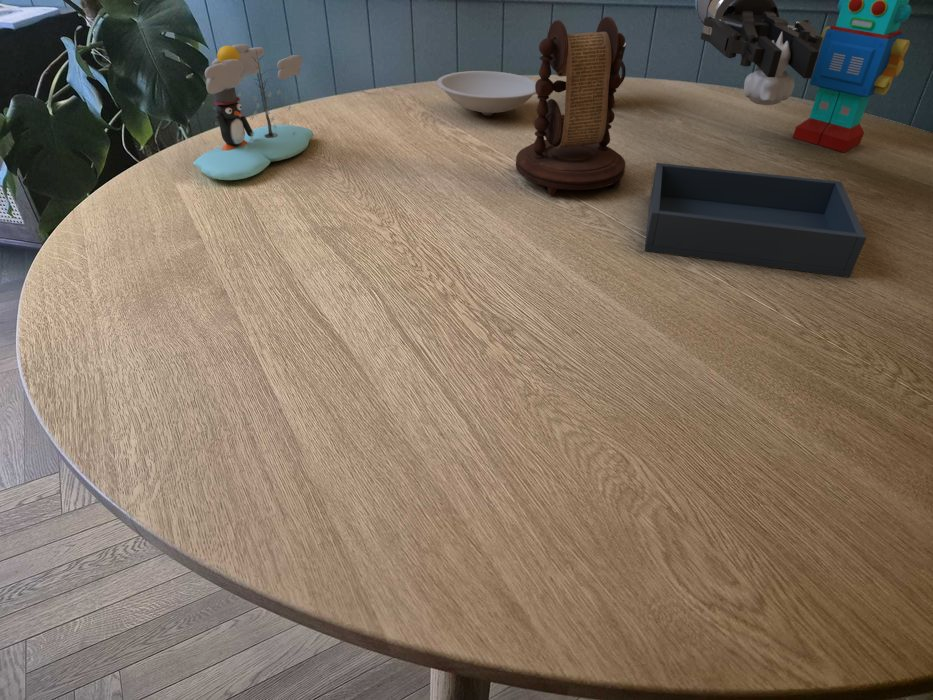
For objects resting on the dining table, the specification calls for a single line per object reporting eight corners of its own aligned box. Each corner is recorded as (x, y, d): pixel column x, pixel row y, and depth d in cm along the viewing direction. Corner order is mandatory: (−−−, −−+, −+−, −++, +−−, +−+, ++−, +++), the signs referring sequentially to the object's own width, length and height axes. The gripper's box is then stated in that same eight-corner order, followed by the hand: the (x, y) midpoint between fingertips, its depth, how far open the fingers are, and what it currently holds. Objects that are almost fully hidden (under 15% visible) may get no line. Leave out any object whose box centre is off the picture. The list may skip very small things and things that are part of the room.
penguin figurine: (237, 191, 87) (210, 71, 78) (179, 175, 91) (147, 59, 82) (330, 143, 101) (317, 36, 92) (277, 131, 105) (259, 27, 96)
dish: (422, 119, 110) (420, 88, 107) (458, 95, 120) (458, 66, 117) (521, 135, 104) (522, 102, 101) (550, 108, 114) (552, 78, 111)
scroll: (540, 207, 84) (554, 37, 72) (499, 163, 95) (505, 10, 83) (642, 192, 87) (672, 28, 75) (592, 152, 99) (610, 3, 86)
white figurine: (785, 98, 81) (806, 27, 76) (789, 116, 76) (811, 41, 71) (739, 95, 82) (756, 25, 77) (740, 112, 77) (758, 38, 72)
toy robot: (782, 135, 105) (837, -48, 89) (800, 126, 108) (856, -51, 93) (855, 155, 98) (929, -38, 83) (872, 146, 101) (946, -42, 86)
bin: (827, 217, 82) (841, 181, 79) (849, 277, 71) (866, 237, 68) (649, 197, 86) (656, 162, 83) (644, 251, 75) (651, 212, 72)
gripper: (794, 49, 91) (858, 102, 73) (675, 46, 92) (708, 97, 74) (812, -12, 86) (885, 28, 68) (686, -15, 88) (724, 24, 69)
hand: (792, 64), depth 71 cm, fingers closed on white figurine, 3 cm apart
